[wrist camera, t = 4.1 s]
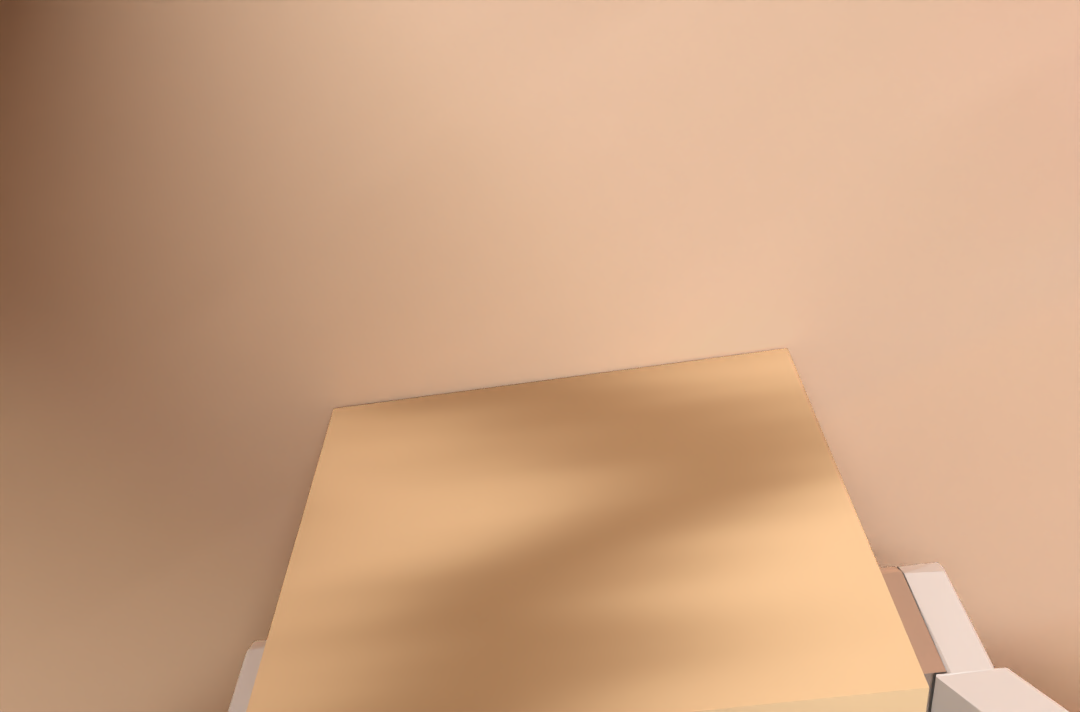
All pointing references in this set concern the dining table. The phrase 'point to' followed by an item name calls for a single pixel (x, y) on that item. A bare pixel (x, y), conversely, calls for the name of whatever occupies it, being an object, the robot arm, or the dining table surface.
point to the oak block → (587, 555)
